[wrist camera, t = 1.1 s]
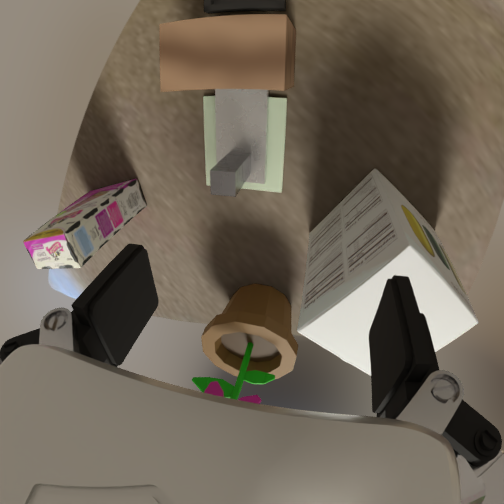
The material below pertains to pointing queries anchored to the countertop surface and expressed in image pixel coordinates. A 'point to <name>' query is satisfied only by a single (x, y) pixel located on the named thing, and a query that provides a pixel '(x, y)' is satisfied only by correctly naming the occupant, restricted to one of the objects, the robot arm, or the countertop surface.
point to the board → (274, 143)
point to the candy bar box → (85, 226)
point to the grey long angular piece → (240, 139)
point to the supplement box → (376, 272)
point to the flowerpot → (249, 341)
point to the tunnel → (228, 53)
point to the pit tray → (243, 5)
